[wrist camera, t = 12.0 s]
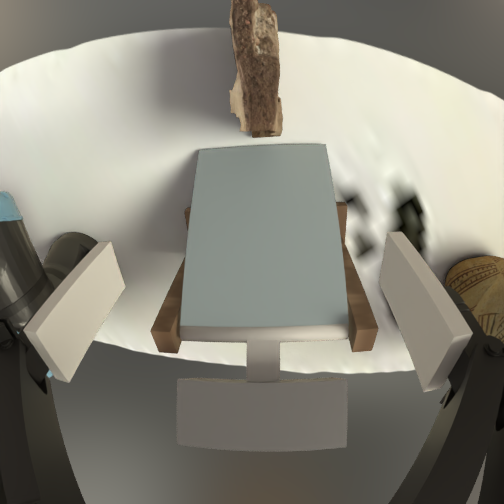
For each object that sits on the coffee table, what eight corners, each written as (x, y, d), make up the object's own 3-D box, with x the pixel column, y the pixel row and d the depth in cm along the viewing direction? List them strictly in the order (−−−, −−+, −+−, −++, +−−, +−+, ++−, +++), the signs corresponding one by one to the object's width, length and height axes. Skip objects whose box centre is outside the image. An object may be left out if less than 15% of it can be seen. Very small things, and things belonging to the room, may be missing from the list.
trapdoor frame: (199, 278, 46) (166, 377, 29) (187, 207, 40) (131, 292, 24) (338, 275, 44) (367, 377, 28) (344, 202, 39) (394, 287, 22)
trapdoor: (189, 429, 27) (166, 442, 20) (205, 168, 39) (193, 134, 33) (341, 430, 25) (358, 445, 19) (322, 164, 38) (328, 127, 32)
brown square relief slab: (251, 137, 35) (245, 30, 30) (284, 136, 34) (277, 28, 29) (227, 131, 19) (220, -37, 14) (286, 128, 19) (272, -41, 13)
